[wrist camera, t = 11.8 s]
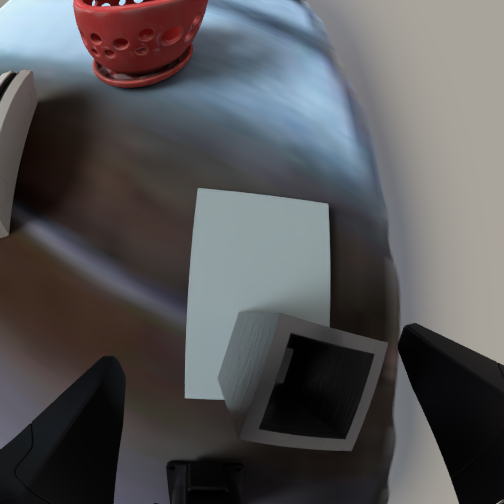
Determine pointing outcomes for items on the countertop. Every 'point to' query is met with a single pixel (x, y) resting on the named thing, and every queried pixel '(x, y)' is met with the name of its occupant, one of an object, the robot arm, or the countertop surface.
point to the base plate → (251, 274)
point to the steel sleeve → (298, 382)
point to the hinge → (13, 134)
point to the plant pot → (138, 38)
